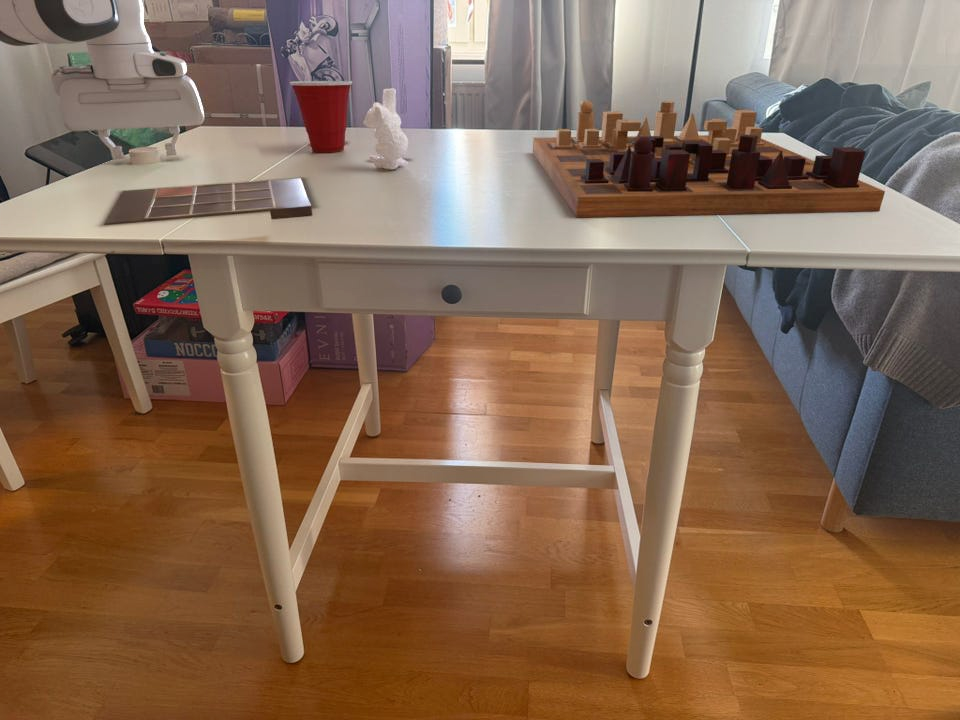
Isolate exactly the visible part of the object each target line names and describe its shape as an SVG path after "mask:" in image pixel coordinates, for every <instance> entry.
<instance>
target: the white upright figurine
mask: <svg viewBox="0 0 960 720" xmlns="http://www.w3.org/2000/svg"><path fill="white" fill-rule="evenodd" d="M396 95H397V89H396V88H395V87H393V88H391V87H390V88H384V89H383V91H382V97H381V98H382V99H381V100H382V103H380V102H378V101H377V102H376V101H375V102H373V104H372V106H371V108H369V109H368V110H367V111H366V114H365V118H364V120H363V122H362V123H363V125H364V126H365V127H367V129H375V130H374V133H373V135H374V138H375V139H376V140H378V141H377V144H376V145H375V148H374V149H375V152H376V154H377V155H379V156H377V155H375V154H370V155H369V156H368V160H370V162H371V163H373V164H374V166H375V168H378V169H384V170H391V171H393V170H396V169H398V168H399V167H402V166H407V165H408V164H409V162H408V161H407V160H405V159H403V158H404V157H405V155H406V153H407V150H408V147H409V146H408V145H409V138H408V136H407V135H406V134H405V133H404V132H403V129H402V127H401V125H402V119H401V117H400V115H399V114H398V113H397V97H396Z"/></svg>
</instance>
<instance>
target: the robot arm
mask: <svg viewBox="0 0 960 720" xmlns="http://www.w3.org/2000/svg"><path fill="white" fill-rule="evenodd" d="M144 16H145V8H144V3H143V0H0V42H1V43H4V44H6V45H10V46H14V47H25V46H34V45H40V44H42V45H43V44H44V45H61V44H67V45H70V44H71V45H73V44H79V43H83V42H85V44H86V48H87V53H88V56H89V60H90V64H83V65H82V64H81V65H74V66H70V65H61V66H59V68H57V69H56V70H54V71H53V72H52V73H51V83H52V86H53V90H54V92H55V94H56V95H57V96H58V97H59V102H60V103H59V104H60V110H61V115H62V116H61V117H62V120H63V124H64V126H65V127H66V128H67V129H68V130H69V131H71V132H92V131H96V132H97V135H98V138H99V139H100V141H101V142H102V143H103V144H104V145H105V146H106V147H107V148H108V149H109V151H110V154H111V158H112V160H122V159H124V158H125V155H124V152H123V147H122V145H116V144H115V143H114V142H113V140H112V139H111V138H109V137H110V135H111V130H112V131H113V130H114V131H115V130H132V129H151V128H167V127H168V131H169V134H170V135H173V136H172V138H171V140H170V142H166V143H165V144H164V149H165V151H166V156H167V157H173V156H174V157H175V156H178V150H177V149H178V148H177V145H176V143H177V141H178V138H179V135H180V134H181V133H180V132H181V128H180V127H188V126H189V127H191V126H201V125H203V122H204V121H205V118H206V117H205V116H206V115H205V110H204V107H203V106H204V105H203V103H202V101H201V96H200V94H199V93H200V92H199V91H198V88H197V85H196V84H195V82H194V80H193V79H192V78H191V77H189V76H188V75H186V74H187V72H188V65H187V63H186V61H185V60H184V59H183V58H180V57H177V56H173V55H169V54H166V53H164V52H158V51H154V50H153V46H152V42H151V38H150V36H149V33H148V31H147V30H146V26H145V21H144V20H145V19H144Z"/></svg>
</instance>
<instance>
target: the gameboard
mask: <svg viewBox="0 0 960 720" xmlns="http://www.w3.org/2000/svg"><path fill="white" fill-rule="evenodd" d="M578 109H579V112H577V121H576V122H577V124H576V136H572V130H570V128H558V129H556V136H555V137H554V136H553V137H551V136H550V137H533V138H532V154H533V156H534V158H535V159H536V160H537V161H538V163H539V164H540V166H541V167H542V169H543V170H544V172H545V174H546V175H547V176H548V178H549V179H550V181H551V182H552V184H553V185H554V186H555V188H556V189H557V191H558V192H559V194H560V195H561V197H562V198H563V200H564V201H565V203H566V204H567V205H568V207H569V209H570V210H571V211H572V213H573V215H574V216H575V217H576V218H611V217H612V218H613V217H655V216H656V217H658V216H659V217H661V216H706V215H707V216H709V215H713V216H714V215H754V214H756V215H757V214H759V215H760V214H761V215H762V214H802V213H804V214H805V213H807V214H808V213H848V212H849V213H850V212H852V213H853V212H854V213H855V212H880V211H881V207H882V203H883V200H884V196H885V193H886V190H884V189H881V188H879V187H877V186H874V185H872V184H869V183H867V182H865V181H862V180H861V179H859V178H860V175H861V171H862V168H863V163H864V160H865V156H866V151H865V150H863V149H860V148H857V147H854V146H850V147H849V146H847V147H846V146H845V147H844V146H843V147H842V146H841V147H836V146H835V147H833V149H832V154H831V155H826V154H825V155H815V158H814V160H813V159H811V158H809V157H807V156H804V155H802V154H799V153H796V152H794V151H792V150H789V149H787V148H785V147H783V146H780V145H777V144H776V143H773V142H771V141H768V140H766V139H763V138H762V134H763V128H762V127H759V126H755V125H756V120H757V114H758V112H757V111H755V110H752V109H735V110H734V113H733V118H732V119H733V120H732V126H728V121H727V120H726V119H725V120H724V119H722V118H710V120H708V119H707V120H704V125H703V130H704V131H708V135H707V134H706V135H700V134H699V131H698V127H697V123H696V119H695V115H694V112H693V111H692V112H691V114H690V116H689V117H688V120H687V121H686V122H685V125H684V126H683V128H682V129H681V132H680V134H679V135H675V132H676V123H677V117H678V112H675V111H674V109H675V101H669V100H664V101H661V104H660V110H656V113H655V122H654V129H653V130H654V131H653V135H652V134H651V130H650V125H649V121H648V118H647V116H646V117H645V119H644V121H643V123H642V122H641V121H639V120H628V119H625V118H623V117H624V113H622V112H621V111H620V110H619V111H615V110H611V111H608V110H607V111H603V112H602V121H601V135H600V130H599V129H597V128H594V127H595V126H594V124H595V112H593V111H594V104H593V103H592V102H591V101H590V100H583V101H581V103H580V104H579V107H578ZM629 132H637V135H636V136H635V135H634V136H633V135H631V136H628V135H629Z"/></svg>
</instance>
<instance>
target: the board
mask: <svg viewBox="0 0 960 720" xmlns="http://www.w3.org/2000/svg"><path fill="white" fill-rule="evenodd" d="M264 212H269V214H270V219H272V220H273V219H274V220H275V219H285V218H294V217H296V218H297V217H308V216H313V209H312V204H311V202H310V199H309V197H308V194H307V191H306V188H305V186H304V183H303V180H302V178H301V177H295V178H294V177H293V178H281V179H264V180H251V181H250V180H249V181H238V182H223V183H209V184H195V185H181V186H170V187H157V188H156V187H155V188H145V189H143V188H142V189H130V190H122V191H121V193H120V195H119V197H118V199H117V201H116V202H115V203H114V206H113V208H112V209H111V211H110V213H109V215H108V217H106V220H105V221H104V223H103V225H104V226H110V225H111V226H112V225H122V224H135V223H146V222H157V221H168V220H169V221H170V220H181V219H194V218H204V217H205V218H206V217H217V216H227V215H240V214H241V215H242V214H251V213H264Z"/></svg>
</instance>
